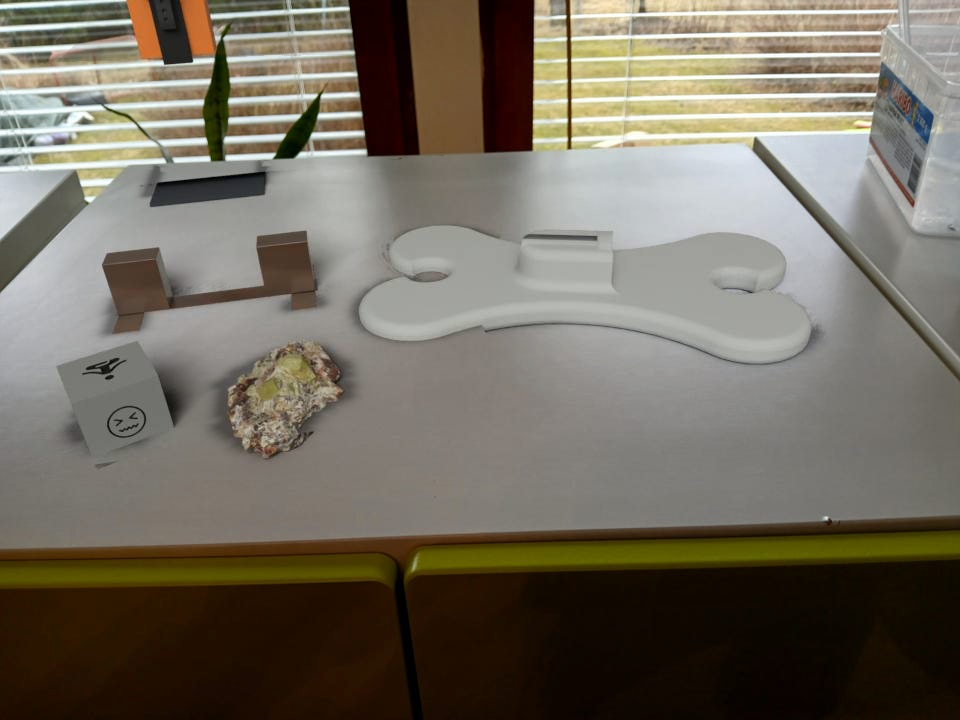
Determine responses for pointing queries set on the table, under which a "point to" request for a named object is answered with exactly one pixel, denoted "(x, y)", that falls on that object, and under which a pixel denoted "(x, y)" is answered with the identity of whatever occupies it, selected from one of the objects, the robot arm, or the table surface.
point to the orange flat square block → (195, 23)
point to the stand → (147, 289)
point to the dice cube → (115, 398)
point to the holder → (593, 289)
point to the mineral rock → (282, 397)
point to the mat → (208, 188)
